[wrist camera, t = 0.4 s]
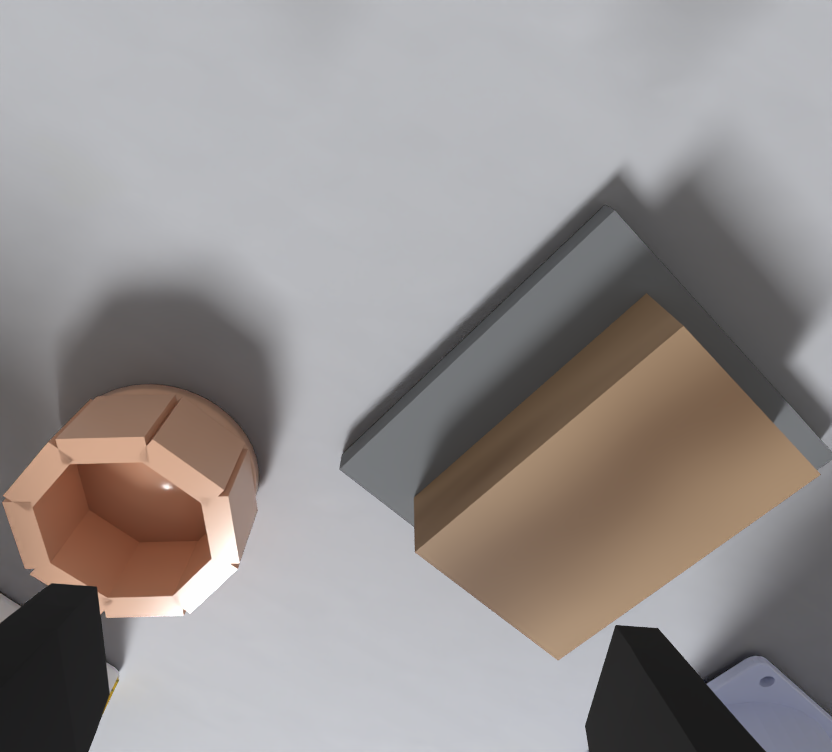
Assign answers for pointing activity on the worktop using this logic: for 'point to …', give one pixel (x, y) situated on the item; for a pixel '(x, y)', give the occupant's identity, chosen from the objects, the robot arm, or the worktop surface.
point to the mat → (542, 361)
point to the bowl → (139, 501)
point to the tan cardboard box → (606, 483)
